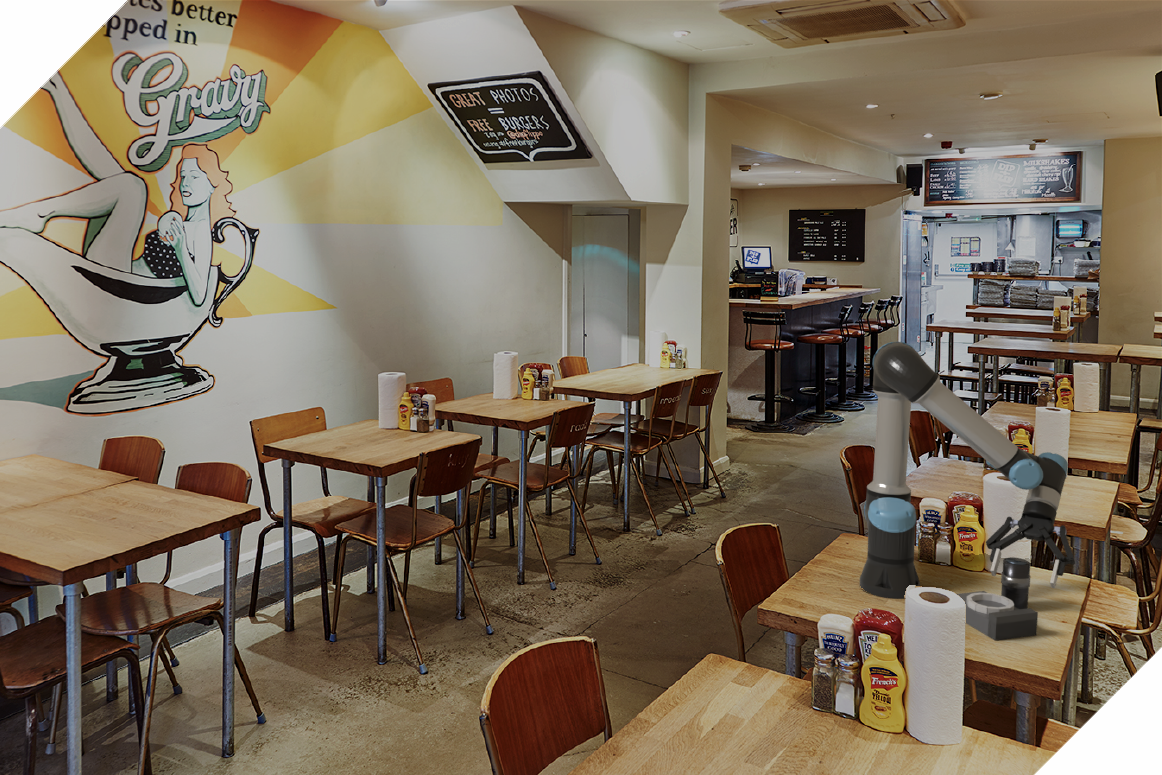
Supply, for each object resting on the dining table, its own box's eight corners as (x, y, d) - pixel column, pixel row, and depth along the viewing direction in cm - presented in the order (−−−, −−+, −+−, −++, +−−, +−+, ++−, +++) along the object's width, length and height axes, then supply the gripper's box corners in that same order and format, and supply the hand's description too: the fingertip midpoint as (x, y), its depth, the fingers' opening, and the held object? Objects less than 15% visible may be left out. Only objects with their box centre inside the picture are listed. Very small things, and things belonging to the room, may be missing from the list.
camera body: (944, 610, 212) (945, 589, 211) (983, 606, 214) (984, 584, 213) (995, 640, 194) (996, 617, 194) (1036, 635, 197) (1037, 612, 196)
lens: (994, 604, 215) (996, 557, 213) (1015, 601, 216) (1018, 555, 215) (1012, 614, 209) (1014, 566, 207) (1034, 611, 210) (1037, 563, 209)
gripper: (1097, 523, 215) (1080, 598, 206) (992, 507, 232) (972, 575, 223) (1094, 508, 211) (1076, 583, 202) (987, 492, 227) (966, 561, 218)
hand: (1021, 579), depth 212 cm, fingers open, 13 cm apart
